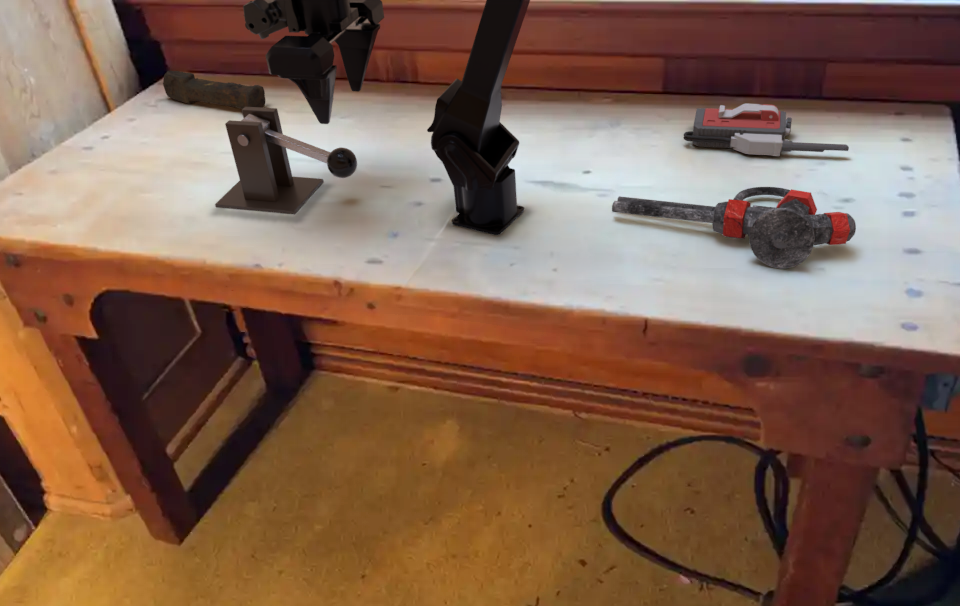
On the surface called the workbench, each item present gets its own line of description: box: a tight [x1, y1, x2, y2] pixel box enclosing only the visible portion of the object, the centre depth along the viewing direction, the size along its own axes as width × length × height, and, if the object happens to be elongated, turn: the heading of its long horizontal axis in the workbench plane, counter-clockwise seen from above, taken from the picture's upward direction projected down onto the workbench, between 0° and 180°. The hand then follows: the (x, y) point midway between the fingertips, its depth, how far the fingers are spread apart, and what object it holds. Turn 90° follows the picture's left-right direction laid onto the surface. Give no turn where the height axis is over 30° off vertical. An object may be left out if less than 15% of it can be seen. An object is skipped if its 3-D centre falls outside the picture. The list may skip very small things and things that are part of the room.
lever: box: [240, 114, 358, 179], centre depth 108 cm, size 15×4×4 cm, turn 73°
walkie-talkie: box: [683, 103, 850, 157], centre depth 115 cm, size 9×4×20 cm
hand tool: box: [162, 70, 266, 110], centre depth 140 cm, size 19×4×5 cm, turn 61°
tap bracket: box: [214, 107, 324, 215], centre depth 111 cm, size 11×8×11 cm
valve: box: [611, 186, 857, 269], centre depth 100 cm, size 6×26×15 cm
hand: (341, 106), depth 104 cm, fingers open, 9 cm apart
